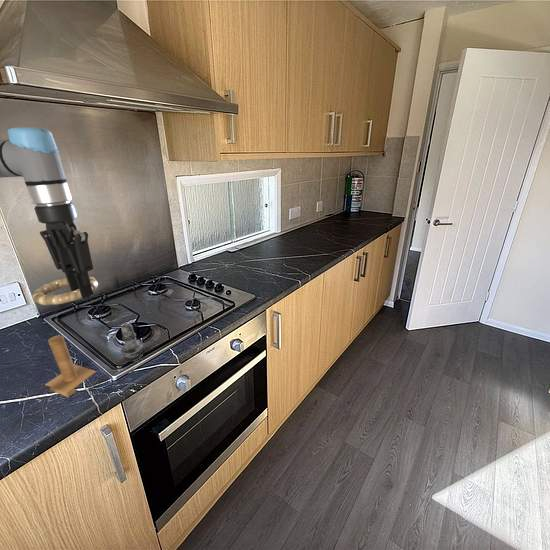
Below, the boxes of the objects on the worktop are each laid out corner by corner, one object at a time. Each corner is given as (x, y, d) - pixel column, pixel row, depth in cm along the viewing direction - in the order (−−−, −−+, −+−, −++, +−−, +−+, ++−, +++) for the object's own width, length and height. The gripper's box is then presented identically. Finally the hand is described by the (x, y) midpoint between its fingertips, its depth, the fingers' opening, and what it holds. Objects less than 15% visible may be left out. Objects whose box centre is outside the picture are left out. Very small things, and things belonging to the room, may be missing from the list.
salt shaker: (138, 348, 88) (129, 314, 83) (150, 355, 85) (141, 320, 80) (119, 359, 83) (108, 323, 79) (130, 367, 80) (120, 330, 76)
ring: (21, 302, 74) (17, 294, 73) (74, 280, 87) (71, 272, 86) (60, 310, 70) (56, 301, 69) (110, 285, 82) (108, 277, 81)
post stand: (46, 389, 74) (27, 345, 68) (76, 368, 81) (60, 327, 75) (68, 397, 71) (49, 352, 66) (97, 375, 78) (82, 332, 72)
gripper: (93, 201, 67) (117, 292, 77) (47, 200, 73) (75, 285, 82) (61, 207, 61) (92, 306, 70) (13, 205, 66) (48, 297, 75)
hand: (83, 295), depth 76 cm, fingers closed on ring, 2 cm apart
